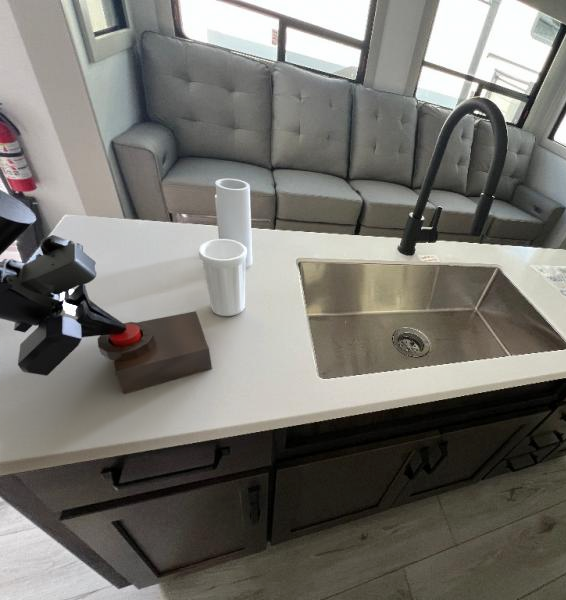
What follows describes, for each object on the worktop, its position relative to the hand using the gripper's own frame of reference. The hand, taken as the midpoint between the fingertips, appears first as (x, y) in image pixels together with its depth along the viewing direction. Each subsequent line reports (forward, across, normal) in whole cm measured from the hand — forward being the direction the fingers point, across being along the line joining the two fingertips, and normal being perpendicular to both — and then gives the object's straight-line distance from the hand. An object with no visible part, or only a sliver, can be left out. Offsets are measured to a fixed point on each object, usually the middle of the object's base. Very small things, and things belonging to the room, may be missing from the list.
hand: (124, 329), depth 49 cm
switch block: (+9, 0, +3) cm, 9 cm away
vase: (+22, +29, -10) cm, 38 cm away
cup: (+18, +10, -5) cm, 21 cm away
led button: (+1, 0, +1) cm, 2 cm away
